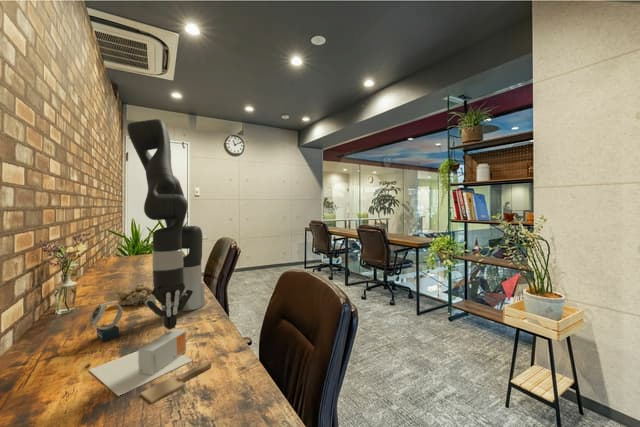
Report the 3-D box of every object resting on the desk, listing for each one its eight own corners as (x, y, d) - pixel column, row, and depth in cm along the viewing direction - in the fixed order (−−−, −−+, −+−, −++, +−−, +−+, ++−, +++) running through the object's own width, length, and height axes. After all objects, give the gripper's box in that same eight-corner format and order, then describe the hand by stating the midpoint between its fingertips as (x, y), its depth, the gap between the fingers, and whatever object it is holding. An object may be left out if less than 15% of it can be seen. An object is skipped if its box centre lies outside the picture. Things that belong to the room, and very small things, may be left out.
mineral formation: (146, 296, 133) (163, 299, 125) (114, 310, 122) (130, 314, 114) (142, 280, 132) (159, 282, 124) (109, 292, 121) (125, 295, 113)
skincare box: (187, 351, 80) (152, 376, 69) (174, 349, 82) (138, 373, 70) (186, 329, 80) (151, 351, 69) (173, 328, 81) (137, 349, 70)
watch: (89, 340, 89) (87, 305, 89) (119, 331, 95) (118, 298, 95) (94, 345, 86) (93, 308, 85) (125, 335, 92) (124, 301, 92)
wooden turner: (203, 362, 74) (203, 359, 74) (215, 368, 71) (215, 364, 71) (141, 395, 62) (140, 390, 62) (152, 404, 59) (151, 399, 59)
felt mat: (158, 343, 86) (158, 342, 86) (192, 360, 76) (192, 360, 76) (88, 370, 72) (88, 369, 72) (118, 396, 62) (118, 395, 62)
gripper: (184, 261, 87) (185, 317, 87) (136, 269, 76) (138, 334, 77) (198, 263, 83) (200, 323, 83) (149, 272, 72) (151, 341, 72)
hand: (170, 328), depth 80 cm, fingers closed
